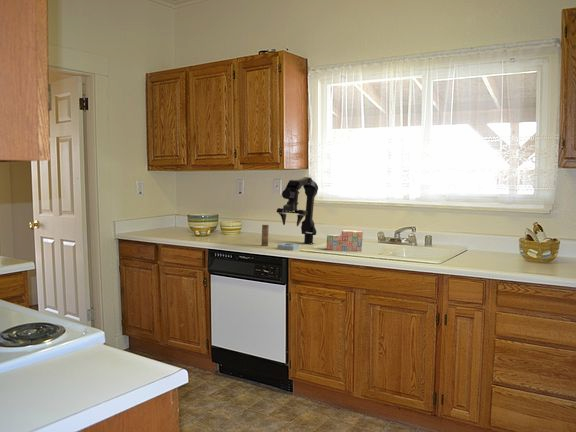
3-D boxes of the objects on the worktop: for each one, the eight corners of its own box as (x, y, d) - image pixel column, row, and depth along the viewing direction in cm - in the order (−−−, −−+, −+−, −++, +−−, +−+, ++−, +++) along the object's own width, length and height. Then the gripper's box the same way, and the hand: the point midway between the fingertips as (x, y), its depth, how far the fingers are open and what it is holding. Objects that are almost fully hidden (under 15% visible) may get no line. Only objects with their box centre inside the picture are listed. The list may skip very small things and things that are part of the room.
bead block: (283, 246, 324) (283, 242, 323) (298, 248, 320) (298, 244, 320) (277, 248, 314) (277, 244, 314) (293, 250, 311) (293, 246, 310)
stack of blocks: (326, 250, 318) (327, 230, 317) (326, 248, 324) (327, 229, 323) (361, 251, 318) (362, 231, 317) (360, 250, 324) (361, 230, 323)
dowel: (263, 245, 328) (263, 224, 327) (268, 245, 327) (269, 225, 326) (260, 245, 325) (261, 225, 324) (266, 246, 323) (267, 225, 322)
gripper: (273, 198, 316) (271, 223, 315) (301, 200, 307) (298, 226, 307) (281, 200, 326) (279, 224, 325) (308, 201, 317) (306, 227, 317)
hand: (290, 225), depth 318 cm, fingers open, 9 cm apart
